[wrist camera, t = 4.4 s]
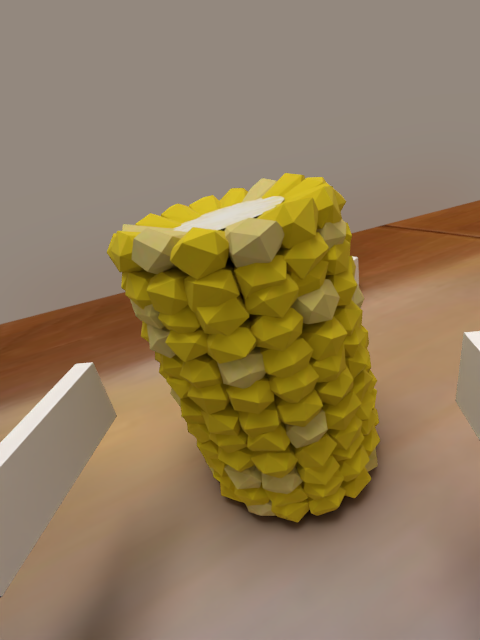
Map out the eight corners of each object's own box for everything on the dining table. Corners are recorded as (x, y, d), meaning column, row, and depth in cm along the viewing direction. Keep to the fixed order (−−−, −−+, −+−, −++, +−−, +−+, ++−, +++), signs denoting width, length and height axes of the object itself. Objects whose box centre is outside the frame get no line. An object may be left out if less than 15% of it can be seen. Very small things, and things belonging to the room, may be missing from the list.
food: (403, 541, 16) (194, 542, 18) (356, 353, 25) (220, 369, 27) (437, 245, 6) (-13, 324, 8) (341, 114, 15) (133, 169, 17)
